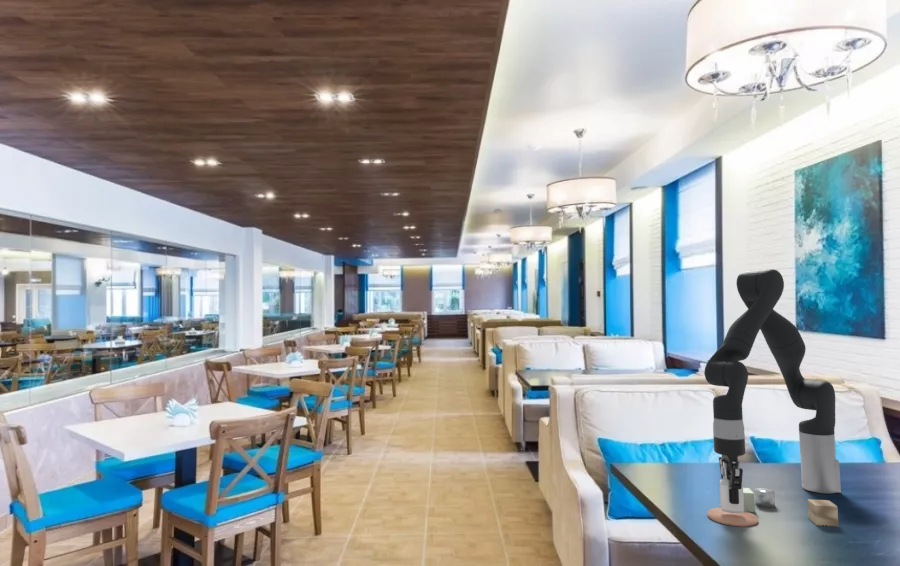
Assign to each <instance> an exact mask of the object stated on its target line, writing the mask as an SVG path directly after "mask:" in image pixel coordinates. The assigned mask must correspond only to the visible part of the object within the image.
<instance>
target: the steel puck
mask: <svg viewBox="0 0 900 566" xmlns="http://www.w3.org/2000/svg"><path fill="white" fill-rule="evenodd" d="M753 493H754V498H755V506H757V507H761V508H764V509H765V508H766V509H773V508H776V495H775V494H776V491H774V490H772V489H769V488H766V487H765V488H763V487H758V488H754V491H753Z"/></svg>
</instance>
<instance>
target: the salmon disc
mask: <svg viewBox="0 0 900 566" xmlns="http://www.w3.org/2000/svg"><path fill="white" fill-rule="evenodd" d="M706 514H707V518H709V519H710V520H712V521H713V522H715V523H718V524H721V525H726V526H730V525H731V526H732V527H740V528H741V527H744V528H746V527H753V526H756V525H758V523H759V517H758V516H757V515H755V514H754V513H753V512H749V511H744V513H729V512H724V511H722V510H721V507H712V508H710V509H708V510H707V513H706Z"/></svg>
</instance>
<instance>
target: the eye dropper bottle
mask: <svg viewBox="0 0 900 566" xmlns="http://www.w3.org/2000/svg"><path fill="white" fill-rule="evenodd" d="M729 477H731V475H729ZM734 484H736V482H734ZM743 488H744V484H743V483H742V488H741V489H739V504H731V503H730V502H729V488H728V480H727V479H726V478H725V479H722V478H721V479H720V480H719V505H720V507H719V508H721V510H722V511H724V512H729V513H744V495H743Z"/></svg>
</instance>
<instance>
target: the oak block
mask: <svg viewBox="0 0 900 566" xmlns="http://www.w3.org/2000/svg"><path fill="white" fill-rule="evenodd" d="M838 511H839V510H838V505H836V504H835V503H834V502H832V501H830V500H829V499H828V500H827V499H812V498H811V499H809V498H807V514H808V519H809V520H810V521H811V522H812V523H813V524H814V525H816V526H822V525H824V526H825V525H827V527H838V526H839V514H838V513H839V512H838ZM825 527H826V526H825Z"/></svg>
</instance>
